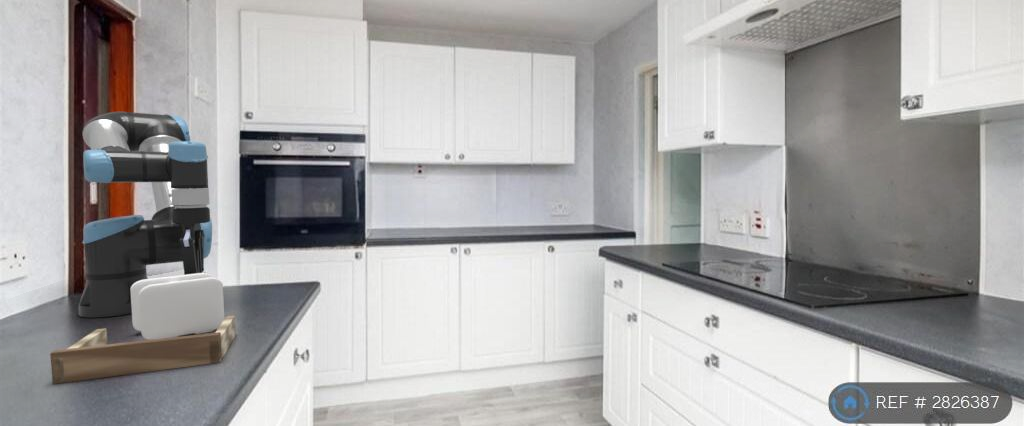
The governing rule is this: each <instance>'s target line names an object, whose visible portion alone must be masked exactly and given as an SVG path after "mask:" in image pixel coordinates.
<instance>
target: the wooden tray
mask: <svg viewBox="0 0 1024 426" xmlns="http://www.w3.org/2000/svg"><path fill="white" fill-rule="evenodd" d="M107 332H108V331H107V328H97V329H95V330H93V331H92V332H90V333H89V334H87V335H86V336H84V337H83V338H81V339H80V340H78V341H76V342H75V343H74V344H72V345H70V346H69V347H67V348H64V349H55V350H54V351H51V352H50V369H51V380H52V381H51V382H52V385H55V384H56V385H57V384H64V383H71V382H79V381H86V380H87V381H88V380H94V379H96V380H97V379H101V378H110V377H119V376H125V375H133V374H140V373H148V372H156V371H164V370H172V369H180V368H186V367H187V368H188V367H195V366H203V365H211V364H218V363H219V364H220V363H221V362H222V360H223V358H224V357H225V355H226V353H227V351H228V349H229V347H230V346H231V344H232V342H233V340H234V339H235V337H236V335H237V334H236V333H237V332H236V316H235V315H230V316H229V315H227V316H226V317H224V321H223V322H222V324H221V325H220V327H218V328H216V331H215V332H208V333H202V334H193V335H192V334H191V335H190V334H189V335H181V336H178V337H172V338H163V339H154V340H148V339H145V340H136V341H129V342H118V343H110V344H108V334H107Z"/></svg>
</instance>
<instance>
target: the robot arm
mask: <svg viewBox="0 0 1024 426" xmlns="http://www.w3.org/2000/svg"><path fill="white" fill-rule="evenodd" d="M81 132H82V139H83V141H84V143H85V144H86V145H87V146H88V147H89V148H90V149H87V150H86V149H85V150H84V151H83V153H82V154H83V155H82V157H83V158H82V159H83V160H82V161H83V173H84V179H85V181H87V182H90V183H101V184H102V183H103V184H109V183H111V184H113V183H114V184H116V183H118V184H119V183H151V188H152V193H153V198H154V199H153V200H154V205H155V210H156V211H155V213H154V214H153V215H152V216H151V219H145V217H144V216H143V215H141V214H134V215H125V216H124V215H123V216H115V217H110V218H104V219H98V220H94V221H90V222H88V223H86V224H85V226H84V227H83V239H82V244H83V246H84V248H83V249H84V266H85V267H84V268H85V279H86V280H85V281H86V282H85V285H84V289H83V292H82V294H81V297H80V301H79V303H78V309H77V310H78V316H79V317H81V318H92V319H93V318H108V317H116V316H123V315H130V314H132V307H131V291H130V288H131V286H132V285H133V284H134V283H135V282H137V281H140V280H144V279H149V278H148V275H147V266H150V265H160V264H161V265H162V264H169V263H170V264H171V263H181V262H182V266H183V273H184V274H183V275H187V274H196V273H207V272H204V271H205V268H204V267H205V265H204V264H205V262H204V261H205V259H206V258H208V257H209V256H210V254H211V250H212V241H213V221H212V218H211V211H210V210H211V209H210V208H209V207H208V206H209V205H210V204H211V203H210V188H209V174H208V173H209V172H208V171H209V170H208V159H209V156H208V154H207V152H208V151H207V146H206V145H205V143H204V142H199V141H191V136H190V130H189V127H188V125H187V122H186V120H184V119H183V118H182V117H180V116H178V115H170V114H169V113H168V114H156V113H155V114H153V113H144V112H134V111H133V112H130V111H129V112H127V111H112V112H111V111H110V112H107V113H103V114H99V115H97V116H94V117H93V118H91V119H89V120H88V121H87V122H86V123H85V124H84V126H83V129H82V131H81Z"/></svg>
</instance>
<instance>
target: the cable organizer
mask: <svg viewBox="0 0 1024 426" xmlns="http://www.w3.org/2000/svg"><path fill="white" fill-rule="evenodd" d="M130 291H131V307H132V313H131V318H132V319H131V320H132V326H133V329H135V330H136V331H137V332H140V333H141V335H142V337H143V338H144V339H145V340H154V339H163V338H172V337H181V336H187V335H190V334H191V335H192V334H193V335H199V334H208V333H213V331H214V330H217V329H218V328H219V327H220V325H221V324H222V322H223V321H224V319H225V306H224V305H225V304H224V302H225V300H224V285H223V282H222V281H221V280H220V279H218V278H216V277H214V276H212V275H211V274H209V273H208V272H206V273H205V272H203V273H196V274H187V275H184V274H181V275H171V276H165V277H164V276H163V277H162V276H161V277H153V278H152V277H151V278H148V279H144V280H140V281H137V282H135V283H134V284H133V285H132V286H131V288H130Z"/></svg>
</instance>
